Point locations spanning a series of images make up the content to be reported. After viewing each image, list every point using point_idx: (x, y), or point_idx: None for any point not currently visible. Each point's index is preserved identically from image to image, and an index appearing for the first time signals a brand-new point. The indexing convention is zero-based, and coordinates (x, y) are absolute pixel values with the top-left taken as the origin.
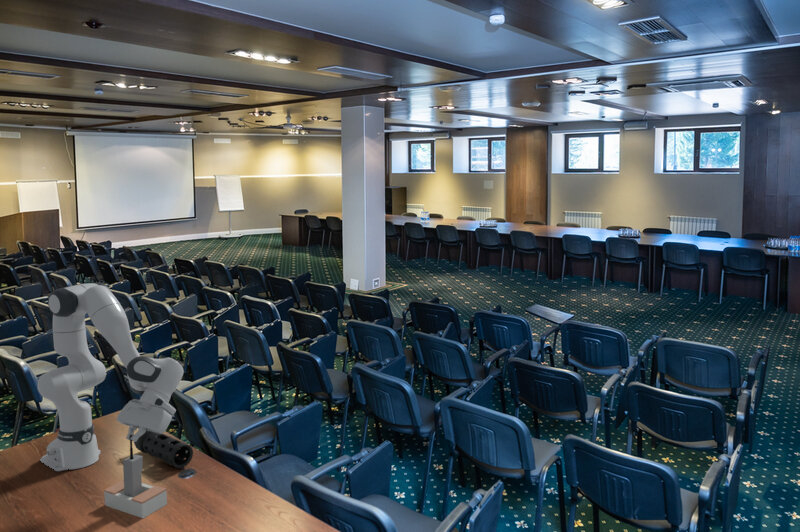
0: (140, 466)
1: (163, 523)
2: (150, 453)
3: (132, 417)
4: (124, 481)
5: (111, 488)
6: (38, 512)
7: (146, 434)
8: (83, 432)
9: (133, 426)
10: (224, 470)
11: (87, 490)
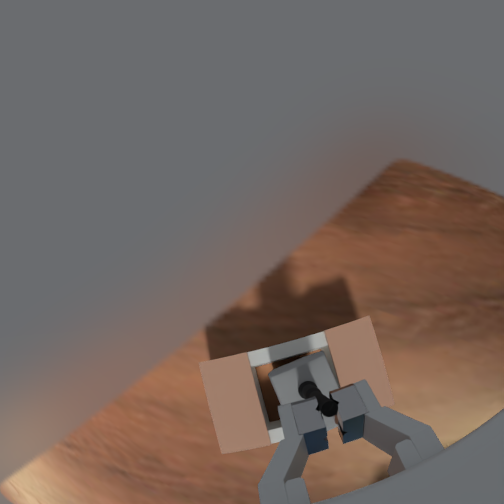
0: None
1: (151, 382)
2: None
3: (488, 489)
4: (308, 355)
5: (362, 335)
6: (418, 206)
7: None
8: None
9: (400, 466)
10: None
11: (457, 316)
